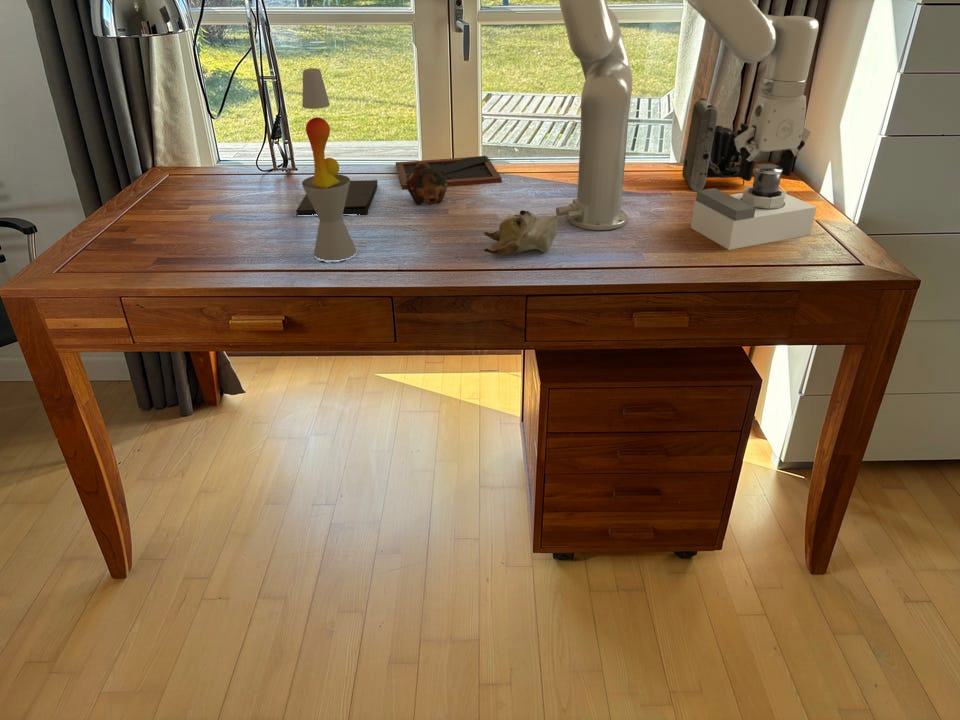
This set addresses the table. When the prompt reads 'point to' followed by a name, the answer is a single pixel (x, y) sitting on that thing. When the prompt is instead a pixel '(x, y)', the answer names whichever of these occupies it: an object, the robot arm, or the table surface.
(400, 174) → the picture frame
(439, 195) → the brown rounded lump
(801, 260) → the table surface
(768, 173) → the silver grey short cylinder
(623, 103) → the robot arm
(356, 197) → the dark brown rectangular slab
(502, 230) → the ceramic sculpture
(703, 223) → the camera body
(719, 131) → the vintage camera
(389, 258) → the table surface
